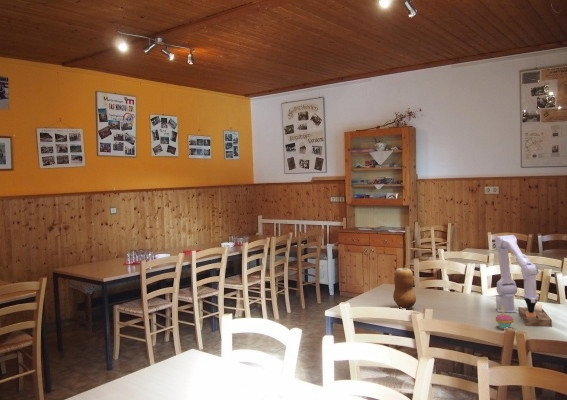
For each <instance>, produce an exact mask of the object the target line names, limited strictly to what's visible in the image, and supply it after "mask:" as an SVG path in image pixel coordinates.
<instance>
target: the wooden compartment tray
mask: <svg viewBox="0 0 567 400" xmlns="http://www.w3.org/2000/svg"><path fill="white" fill-rule="evenodd" d="M517 309H518V311H517V312H518V315H519V316H520V318H521V320H522V321H523V323H524V324H525V326H526V327H527V326H529V327H551V328H552V327H553V320H552V319H551V317H550V316H549V314H548V313H547V312H546V311H545V310H544V309H543V308H542V312H536V318H528V317H526V311H528V308H527V306H526V307H524V306H523V307H522V306H519V307H517Z"/></svg>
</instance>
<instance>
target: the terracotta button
mask: <svg viewBox="0 0 567 400" xmlns="http://www.w3.org/2000/svg"><path fill="white" fill-rule="evenodd" d="M526 317H528V318H536V312H533V313H529V312H528V311H526Z"/></svg>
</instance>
